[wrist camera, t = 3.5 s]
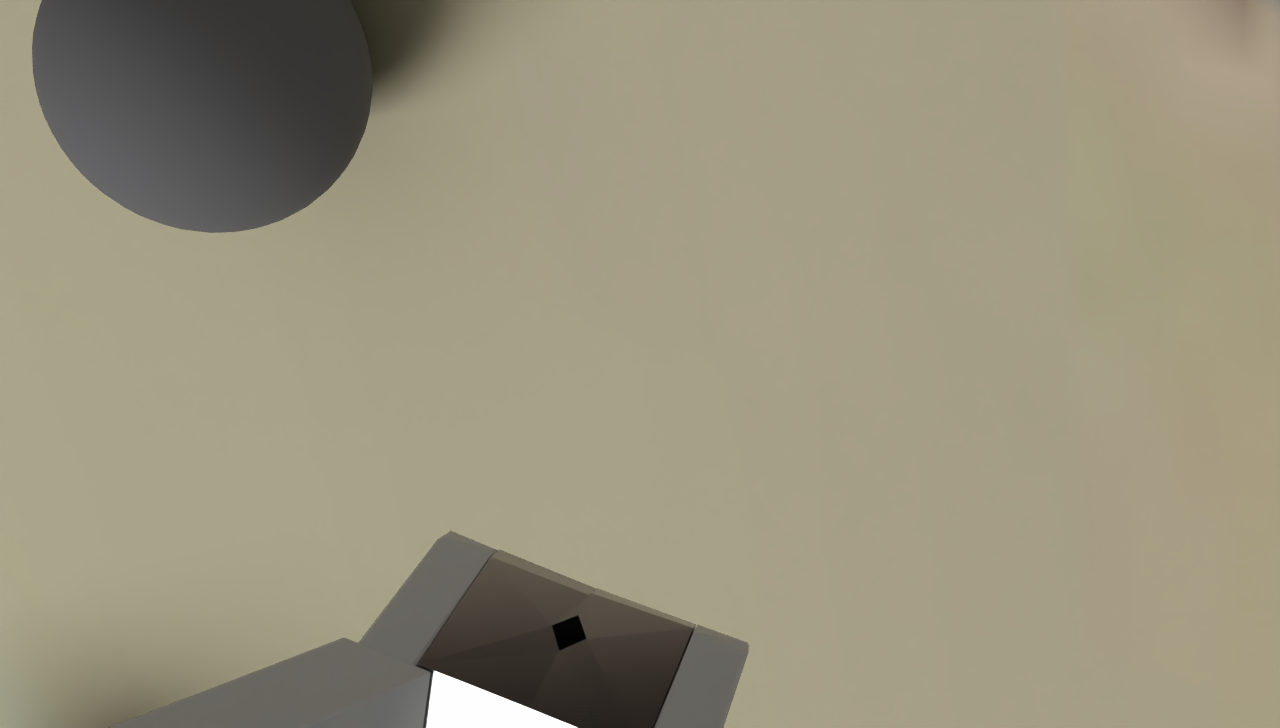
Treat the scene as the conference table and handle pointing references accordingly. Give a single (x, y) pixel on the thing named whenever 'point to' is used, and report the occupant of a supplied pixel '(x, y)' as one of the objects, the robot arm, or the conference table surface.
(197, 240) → the conference table surface
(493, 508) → the conference table surface
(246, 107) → the dark gray ball
